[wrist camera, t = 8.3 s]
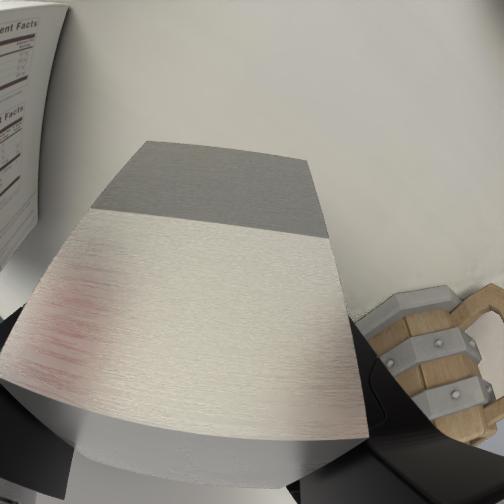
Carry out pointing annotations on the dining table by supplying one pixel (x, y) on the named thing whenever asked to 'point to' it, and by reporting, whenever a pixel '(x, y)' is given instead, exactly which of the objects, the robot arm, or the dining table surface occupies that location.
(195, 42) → the dining table surface
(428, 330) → the tankard
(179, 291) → the grey metal block
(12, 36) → the supplement box
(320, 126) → the dining table surface
